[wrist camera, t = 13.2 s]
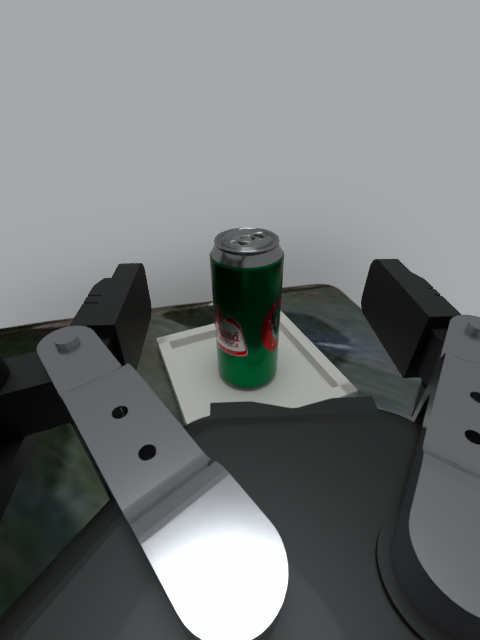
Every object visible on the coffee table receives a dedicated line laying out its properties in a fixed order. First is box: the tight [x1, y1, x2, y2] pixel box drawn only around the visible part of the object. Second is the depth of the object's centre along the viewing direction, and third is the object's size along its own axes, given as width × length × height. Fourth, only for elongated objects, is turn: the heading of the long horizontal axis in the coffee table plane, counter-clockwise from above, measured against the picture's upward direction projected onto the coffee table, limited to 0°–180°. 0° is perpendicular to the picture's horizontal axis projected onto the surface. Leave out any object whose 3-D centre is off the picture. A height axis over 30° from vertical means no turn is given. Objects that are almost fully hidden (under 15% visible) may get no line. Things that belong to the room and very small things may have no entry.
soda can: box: [210, 228, 284, 388], centre depth 25 cm, size 5×5×12 cm
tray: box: [157, 311, 358, 425], centre depth 29 cm, size 13×13×2 cm
